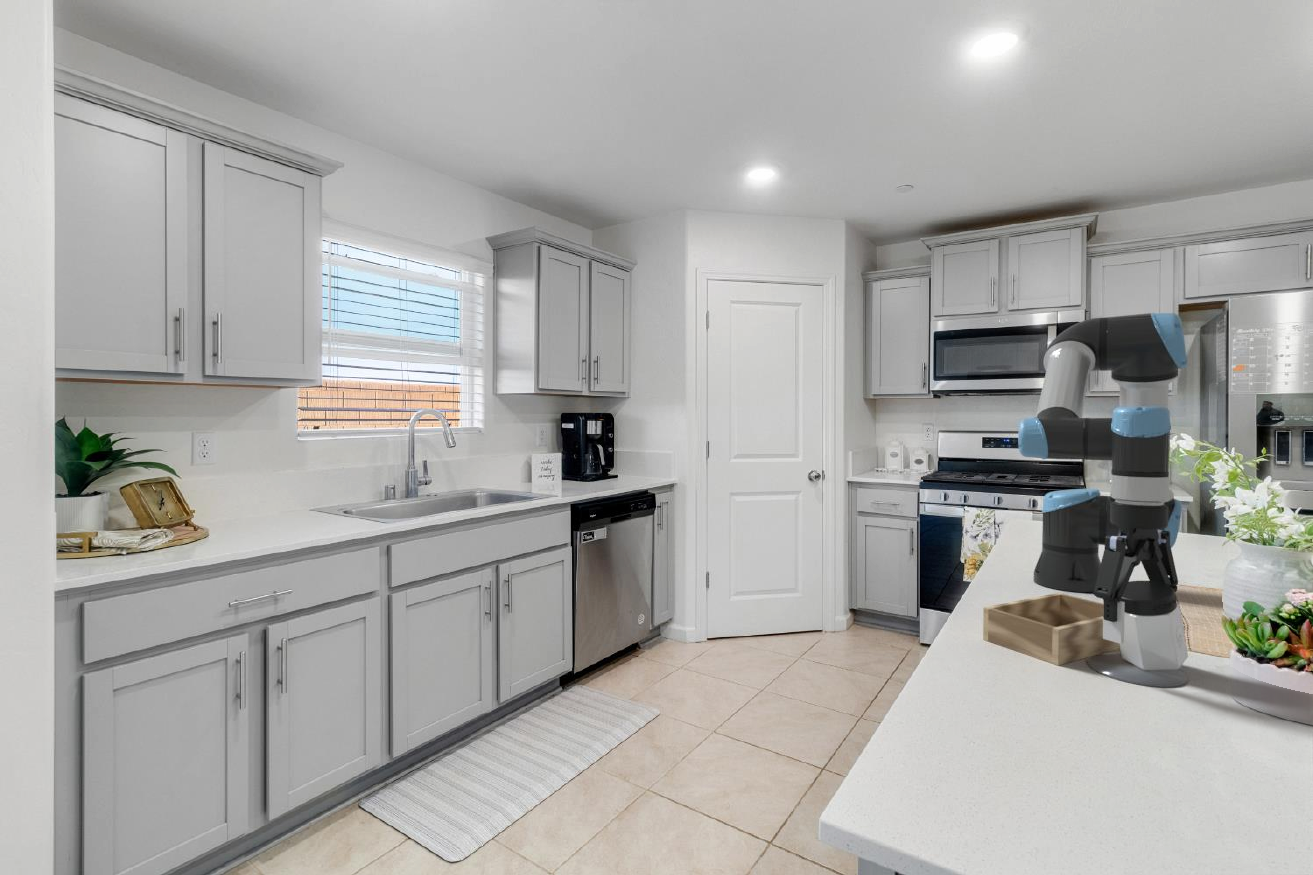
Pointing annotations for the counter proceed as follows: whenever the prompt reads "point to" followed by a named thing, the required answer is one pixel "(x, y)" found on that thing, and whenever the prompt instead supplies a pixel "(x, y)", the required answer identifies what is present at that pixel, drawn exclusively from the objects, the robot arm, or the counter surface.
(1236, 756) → the counter surface
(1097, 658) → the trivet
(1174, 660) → the jar
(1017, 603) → the frame
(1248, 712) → the counter surface
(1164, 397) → the robot arm
